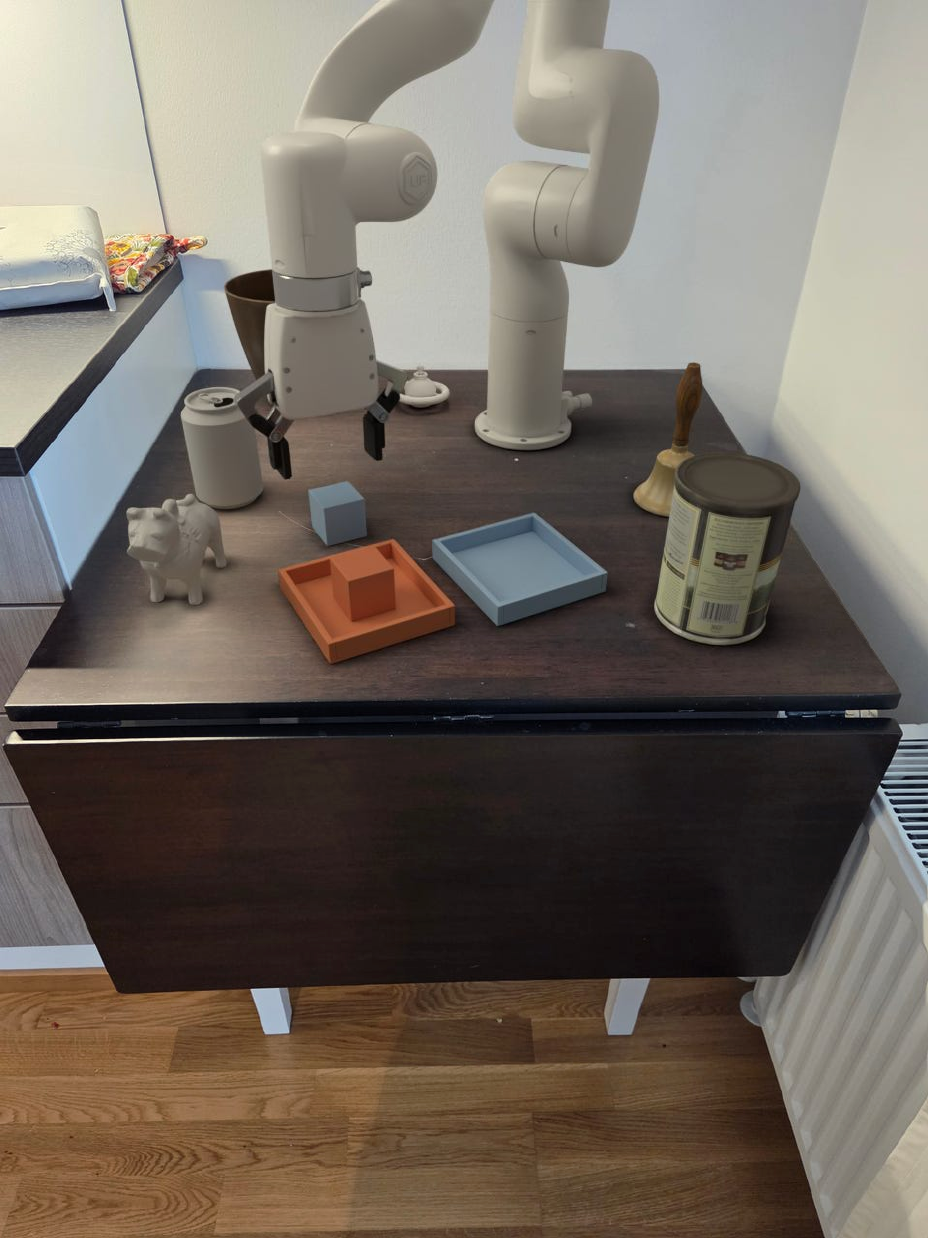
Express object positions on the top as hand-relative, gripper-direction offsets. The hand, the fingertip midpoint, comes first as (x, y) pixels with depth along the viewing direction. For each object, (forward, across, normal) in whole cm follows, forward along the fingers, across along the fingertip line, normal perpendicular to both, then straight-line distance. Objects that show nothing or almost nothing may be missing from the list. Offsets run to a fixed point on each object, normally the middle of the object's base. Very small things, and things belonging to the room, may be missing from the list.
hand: (329, 464), depth 88 cm
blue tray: (+8, -13, +16) cm, 22 cm away
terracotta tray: (+8, +2, +14) cm, 16 cm away
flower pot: (+8, -9, -36) cm, 38 cm away
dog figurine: (+9, +16, +3) cm, 19 cm away
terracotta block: (+8, +2, +14) cm, 16 cm away
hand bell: (+8, -37, +11) cm, 39 cm away
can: (+8, +7, -13) cm, 17 cm away
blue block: (+8, -1, 0) cm, 8 cm away
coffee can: (+8, -26, +30) cm, 40 cm away
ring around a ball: (+8, -24, -27) cm, 37 cm away
